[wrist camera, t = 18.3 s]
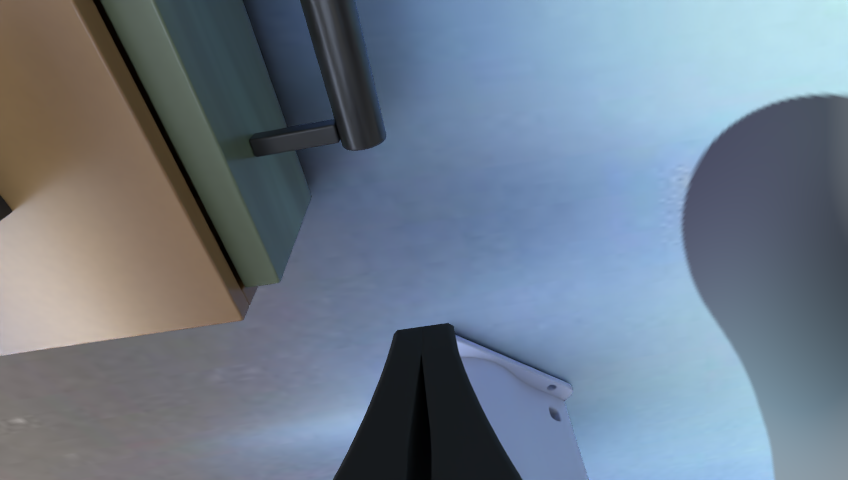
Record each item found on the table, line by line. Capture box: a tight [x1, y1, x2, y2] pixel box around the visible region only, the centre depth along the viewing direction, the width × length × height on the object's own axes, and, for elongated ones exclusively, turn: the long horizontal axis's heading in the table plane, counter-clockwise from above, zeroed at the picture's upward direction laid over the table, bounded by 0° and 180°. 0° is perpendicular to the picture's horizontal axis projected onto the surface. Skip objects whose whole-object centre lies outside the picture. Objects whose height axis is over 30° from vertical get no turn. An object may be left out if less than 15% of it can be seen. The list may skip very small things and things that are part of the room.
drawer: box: [93, 0, 386, 288], centre depth 14 cm, size 18×13×6 cm
